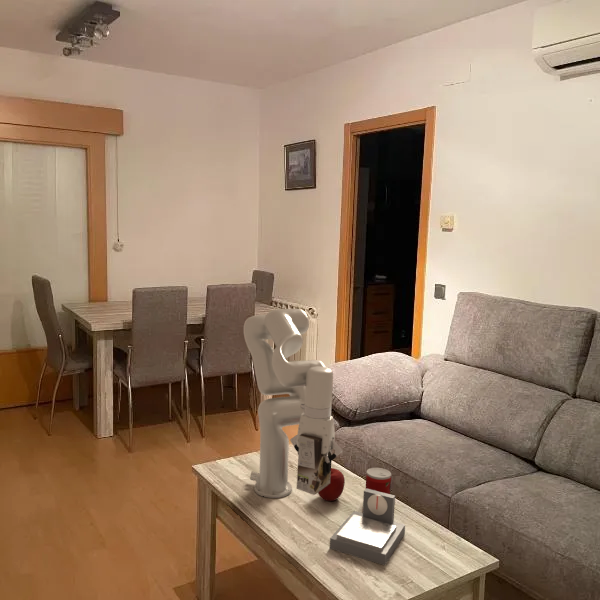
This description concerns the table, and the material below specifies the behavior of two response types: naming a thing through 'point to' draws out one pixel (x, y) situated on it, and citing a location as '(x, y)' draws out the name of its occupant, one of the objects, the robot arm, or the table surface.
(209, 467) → the table surface
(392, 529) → the scale pan
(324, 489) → the apple
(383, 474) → the canned food
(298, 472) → the coffee box
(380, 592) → the table surface
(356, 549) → the base
